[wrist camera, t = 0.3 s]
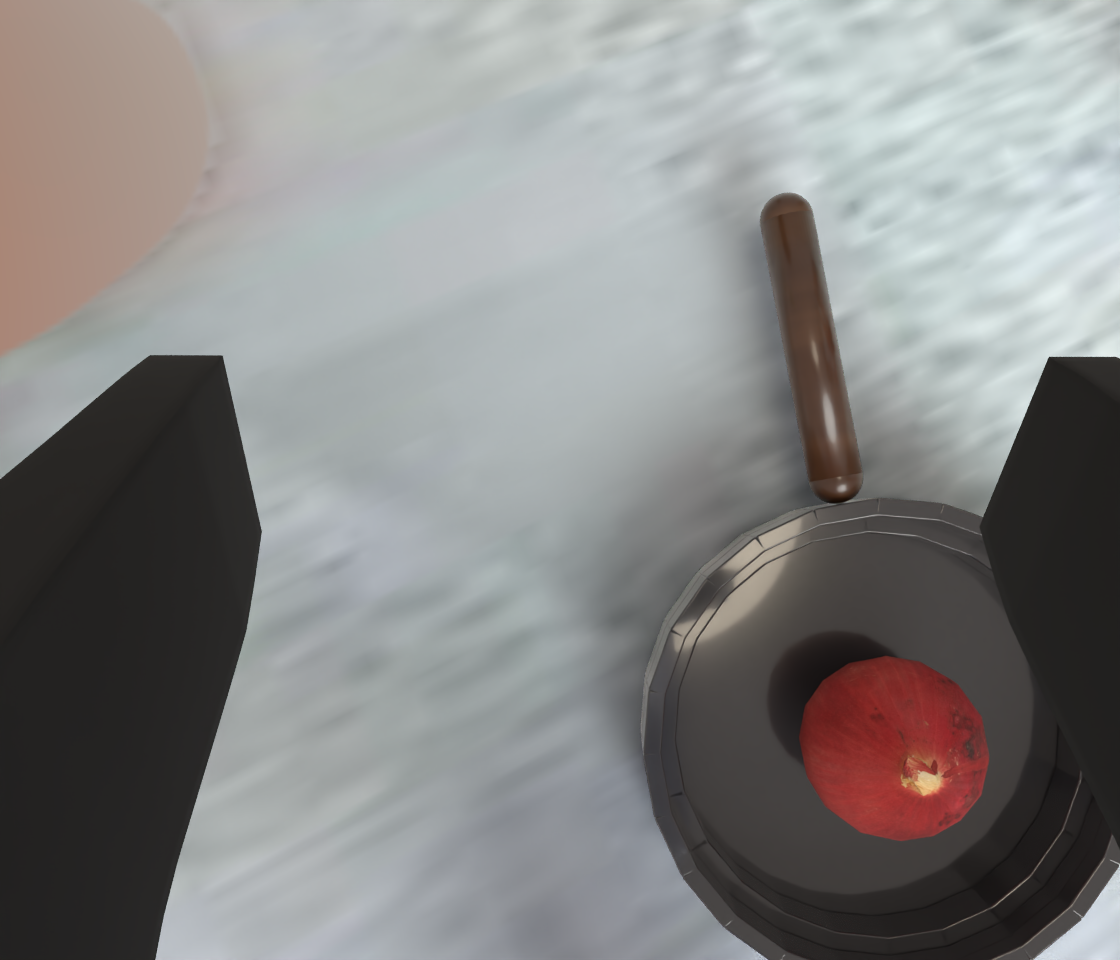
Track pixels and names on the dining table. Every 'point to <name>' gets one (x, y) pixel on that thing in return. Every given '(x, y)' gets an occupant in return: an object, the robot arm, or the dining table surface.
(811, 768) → the onion
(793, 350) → the pan handle
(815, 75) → the dining table surface
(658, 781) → the pan
